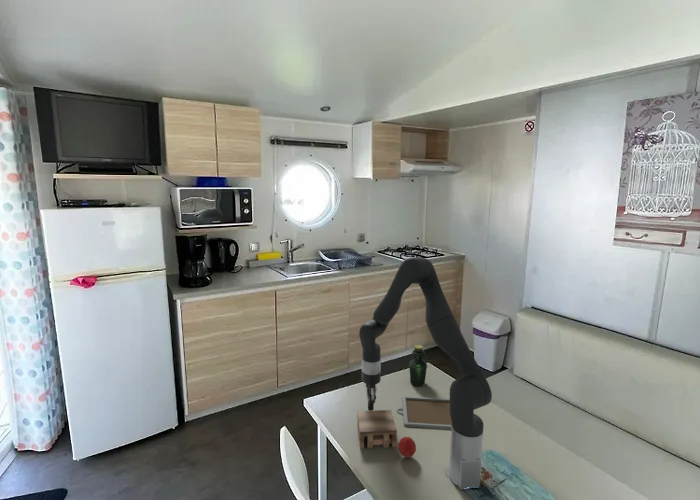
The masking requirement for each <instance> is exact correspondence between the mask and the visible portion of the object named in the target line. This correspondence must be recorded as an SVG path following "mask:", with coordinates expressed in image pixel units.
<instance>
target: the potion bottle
mask: <svg viewBox="0 0 700 500" xmlns="http://www.w3.org/2000/svg"><path fill="white" fill-rule="evenodd" d="M423 348H424V346H423V345H421V344H416V345H414V349H413V350H412V352H411V353H412V354H411V355H412V356H413V357H414V358H413V359H411V360H410V361H409V364H408V365H409V380H410V381H409V383H410V384H411V385H412V386H414V387H419V388H420V387H423V386H424V385H425V384H426V378H427V377H426V376H427V368H428V364H427V361H426V360H424V359H422V358H423V357H424V356H425V355H426V353H425V351H424V349H423Z"/></svg>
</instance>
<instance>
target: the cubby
mask: <svg viewBox="0 0 700 500" xmlns="http://www.w3.org/2000/svg"><path fill="white" fill-rule="evenodd" d="M356 413H357V416H356V417H357V419H356V422H357V423H356V424H357V425H356V427H357V434H358V437H357V438H358V444H359V449H365V436H367V439H366V446H367V449H374V445H373V435H383V444H382V446H383V448H389V447H390V444H389V434H390V436H391V447H392V448H397V446H398V445H397V442H398V441H397V439H398V437H397V436H398V429H397V427H396V426H397V425H396V422H395V418H394V415H393V412H392V410H391V409H385V410H384V409H383V410H379V409H377V410H372V411H369V410H357V412H356Z"/></svg>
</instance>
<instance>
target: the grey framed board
mask: <svg viewBox="0 0 700 500" xmlns="http://www.w3.org/2000/svg"><path fill="white" fill-rule="evenodd" d="M401 403H402V404H401V407H398V408H397V409H396V410H395V411H396V413H397V414H399V415H401V416H403V426H404V427H410V428H411V427H413V428H427V429H443V430H451V428H452V421H451V417H450V398H442V397H426V396H424V397H423V396H422V397H421V396H405V395H404V396H403V395H402V396H401Z"/></svg>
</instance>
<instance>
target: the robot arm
mask: <svg viewBox="0 0 700 500" xmlns="http://www.w3.org/2000/svg"><path fill="white" fill-rule="evenodd" d="M412 284H414V285H418V286H419V287H420V289H421V291H422V294H423V296H424V299H425V300H424V301H425V322H426V326H427V329H428V330H429V333H430V334H431V335H430V336H431V337H432V340H433V341H434V343H435V344H436V345H437V346H438V348H440V349H441V350H442V352H444V353H445V354H446V355H448V357H450V358H451V359H452V360H453V361H454V363H455V364H456V365H457V366H458V369H459V371H460V372H461V374H462V375H461V376H462V377H460V378H458V379H455V380H453V381H452V382H451V385H450V386H449V399H450V417H451V421H452V428H451V429H450V430H451V431H450V432H451V433H450V446H449V447H450V449H449V450H450V451H449V465H448V466H449V469H448V476H449V480H450V481H451V482H452V483H453V484H454V485H455V486H456V487H458V489H459V490H465V489H464V488H467V487H472V486H480V487H481V473H482V453H483V440H484V427H485V426H484V421H483V419H482V418H481V417H480V416H479V415H477V414H476V413H475V410H477V409H480V408H482V407H485V406H487V405H489V404H490V403H491V401H492V398H493V395H492V394H493V393H492V389H491V387H490V384H489V382H488V380H487V377H485V374H484V373H483V371H482V369H481V368H480V366H479V364H478V362H477V361H476V359H475V357H474V355H473V354H472V352H471V351H472V350H470V348H469V345H468V343H467V341H466V340H465V337H464V335H463V333H462V331H461V328H460V326H459V323H458V321H457V320H456V317H455V315H454V313H453V312H452V309H451V307H450V305H449V303H448V301H447V298H446V296H445V294H444V291H443V288H442V286H441V283H440V280H439V278H438V274H437V272H436V269H435V267H434V265H433V263H432V261H430V260H429V259H428V258H424V257H415V256H414V257H413V256H410V257H407V258H404V260H403V261H402V262H401V264H400V265H399V268H398V270H397V272H396V274H395V276H394V278H393V280H392V282H391V284H390V286H389V288H388V290H387V292H386V294H385V295H384V297H383V298H382V300H381V301H380V303H379V304H378V305H377V307H376V308H375V310H374V311H373V314H372V315H373V317H372V318H371V319H370V320H369V321H367V322H365V323H363V324H362V325H361V326H360V327H359V331H358V333H359V334H358V335H359V339H360V344H361V347H362V348H361V349H362V361H361V381H362V382H363V384H365V389H366V390H365V392H366V393H365V394H366V400H367V411H375V410H374V409H375V407H374V405H375V403H376V400H377V395H376V394H377V386H376V385H377V384H379V383H380V382H381V376H382V374H381V373H382V371H381V368H382V364H381V346H380V345H379V343H376V339H378V338H379V337H380V336H381V335H383V334H384V332H386V330H387V328H388V325H389V324H390V322H391V321H392V320H393V319H394V317H395V315H397V313H398V312H399V309H400V308H401V304H402V298H403V295H404V293H405V292H406V291H407V290H408V289H409V287H411V285H412Z"/></svg>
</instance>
